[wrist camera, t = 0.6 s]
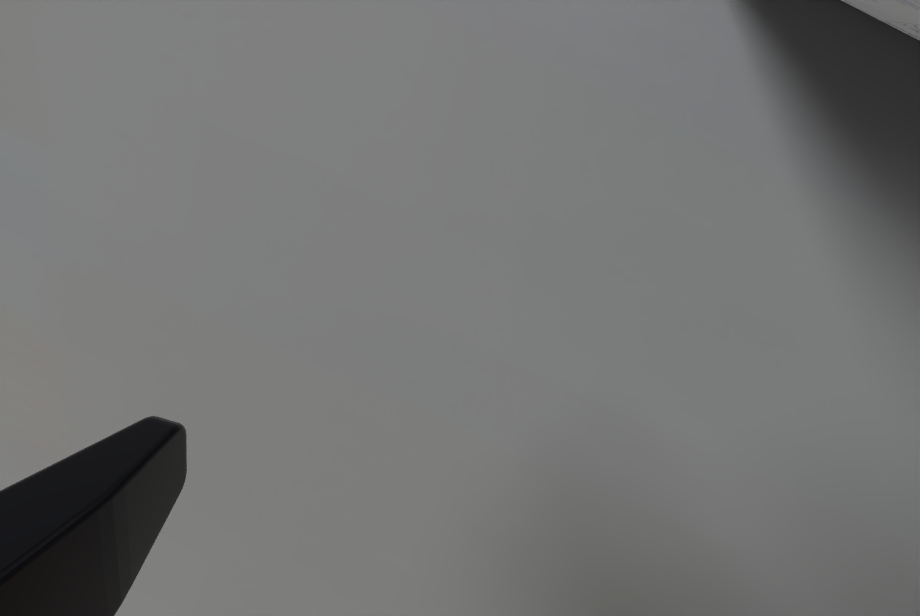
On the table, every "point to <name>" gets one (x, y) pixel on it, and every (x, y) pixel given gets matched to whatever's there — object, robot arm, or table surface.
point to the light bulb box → (893, 13)
